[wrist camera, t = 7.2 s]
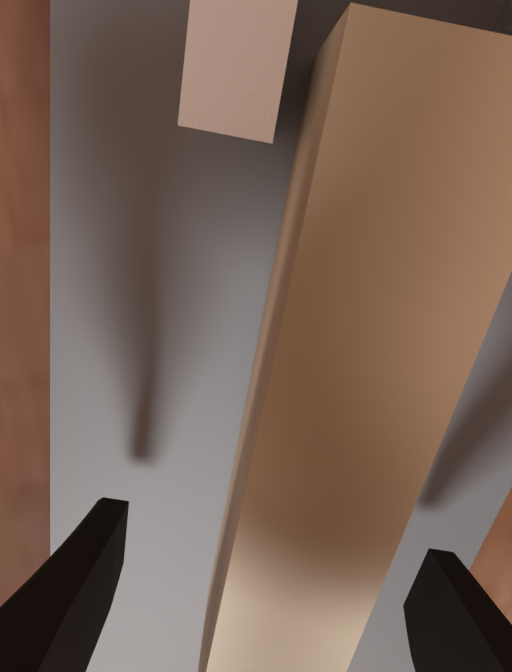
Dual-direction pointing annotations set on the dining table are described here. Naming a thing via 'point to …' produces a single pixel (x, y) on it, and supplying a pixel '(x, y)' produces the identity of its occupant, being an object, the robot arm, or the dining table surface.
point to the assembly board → (203, 325)
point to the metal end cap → (244, 64)
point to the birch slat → (362, 331)
